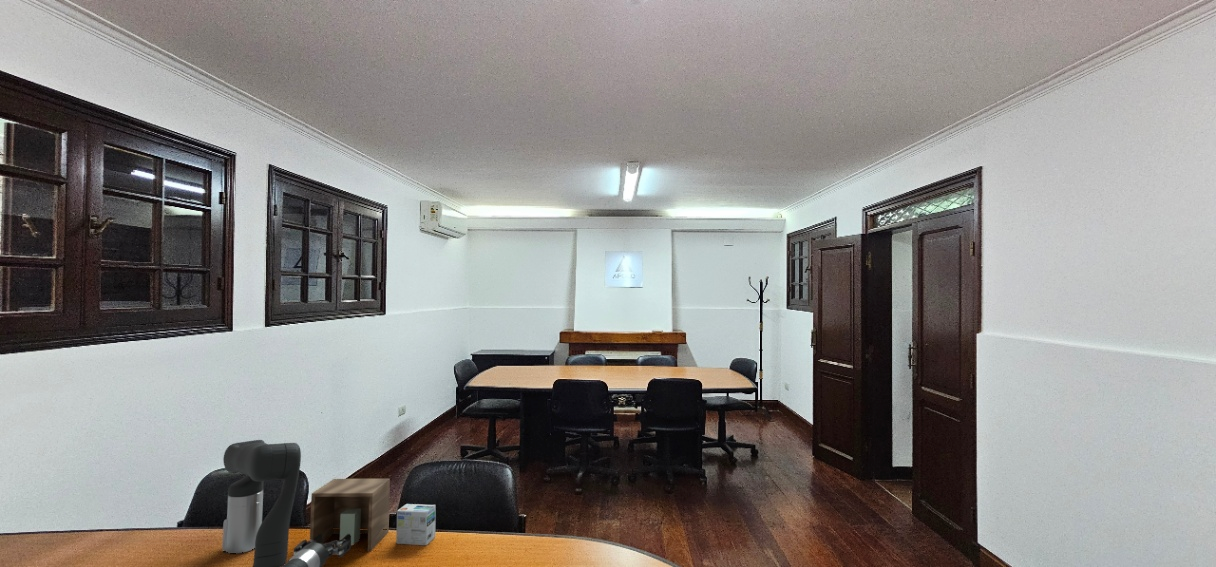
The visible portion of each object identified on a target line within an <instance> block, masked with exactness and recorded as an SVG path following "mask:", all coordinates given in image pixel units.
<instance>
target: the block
mask: <svg viewBox="0 0 1216 567" xmlns="http://www.w3.org/2000/svg"><path fill="white" fill-rule="evenodd" d="M360 523H361V509H346V510H345V511H344V512H342V513H341V517H340V534H339V540H342V539H343V538H344V537H345V536H346V535H347V534H350V536H351V545H354V544H355V543H356V542H357V543H358V542H359V541H360V540H361V534H360ZM359 539H360V540H359ZM357 543H356V544H357ZM356 544H355V545H356ZM340 545H341V543H340V544H339V546H340ZM355 545H354V546H355Z"/></svg>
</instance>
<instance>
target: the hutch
mask: <svg viewBox="0 0 1216 567" xmlns="http://www.w3.org/2000/svg"><path fill="white" fill-rule="evenodd" d="M390 488H391V478H332V479H331V480H330V481H328V482H327V483H325V484H324V485H322V486H321V487H319V488H318V489H316V490H315V491H313V492H312V493H311V501H310V502H311V503H310V525H309V527H310V528H309V540H310V539H313V538H315V537H316V536H318V535H319V534H322V541H321V542H320V543H326V541H328V540H329V538H330V537H332V536H333V535H340V529H333V528H340V517H341V513H342V512H344V511H345V510H346V509H361V523H360V529H368V530H360V533H363V534H364V533H365V534H366V535H367V552H372V551H373V550H374V549H375V547H377V545H378V544H380V542H381V541H382V540H383V539H384V538H385V537H386V535H387V534H388V533H389V528H390V526H389V522H390V521H389V520H390V495H391V494H390V491H391V490H390ZM383 529H387V530H383ZM363 534H362V535H363ZM365 534H364V535H365ZM373 548H374V549H373ZM372 549H373V550H372Z"/></svg>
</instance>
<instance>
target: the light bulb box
mask: <svg viewBox="0 0 1216 567" xmlns="http://www.w3.org/2000/svg"><path fill="white" fill-rule="evenodd" d="M436 508H437V507H436V504H421V503H420V504H419V503H417V504H416V503H414V504H413V503H406V504H404V505H403V506H401V507H400V508H399V509H398V510H397V512H396V535H395V536H396V538H395V539H396V541H395V542H396V543H395V544H396V545H411V546H412V545H414V546H417V545H418V546H428V544H429V543H431V542H432V541H433V540H434V539H435V538H436V515H437V514H436Z"/></svg>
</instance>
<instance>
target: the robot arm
mask: <svg viewBox="0 0 1216 567" xmlns="http://www.w3.org/2000/svg"><path fill="white" fill-rule="evenodd" d="M301 460H302V450H301V448H300V445H299V444H298V443H297V442H284V443H281V442H280V443H265V441H264V440H263V439H254V440H248V441H243V442H242V441H241V442H236V443H235V442H234V443H232V444H229V446H228V447H227V448H226V449H225V451H224V453H223V467H224V468H225V470H226V471H227V472H228V473H229V474H238V473H239V474H243V475H245V476H243V477H242V478H241V479H239V480H237V481H235V482H233V483H231V484H230V485H229V486H228V490H227V493H228V494H227V511H226V514H227V515H226V519H224V521H223V525H222V526H223V528H222V548H221V551H222V550H224V551H226V552H225V553H227V552H228V553H227V554H230V553H236V554H243V553H246V552H250V551H252V549H253V550H254V553H253V554H254V555H253V564H252V567H323V566H324V565H325V564H326V562H327V560H328V559H329V558H331V557H333V555H336V556H337V558H338V559H339V558H342V557H343V556H344V555H346V554H347V552H349V551H350V550H351V548H352V546H351V536H350V534H347V535H346V536H345V537H344V538H343V539H342V540H340V539H339V540H337V539H335V540H331V541H328V542H323V543H320V542H321V541H322V534H319V535H318V536H316V537H315V538H313V539H310V538H309V540H307V539H303V540H302V541H300V542H299V543H298V544H296V545H295V547H294V548H293V555H292V556H291V557H290V558H289V560H287V559H288V550H289V549H288V547H289V531H290V525H291V524H290V523H291V517H292V512H293V507H294V503H295V497H296V492H297V487H298V480H299V476H300V475H299V474H300V471H301V470H300V468H301V462H302V461H301ZM281 480H282V482H283V483H282V486H281V490H280V493H279V496H278V497H277V499H276V501H275V503H274V504H273V506H272V507H271V509H270V511H269V512H268V514H267V515H266V516H265V517H264V519H263V508H264V506H263V503H264V500H263V499H264V482H273V481H281ZM340 543H341V546H340ZM254 548H255V549H254ZM242 552H243V553H242Z"/></svg>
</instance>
